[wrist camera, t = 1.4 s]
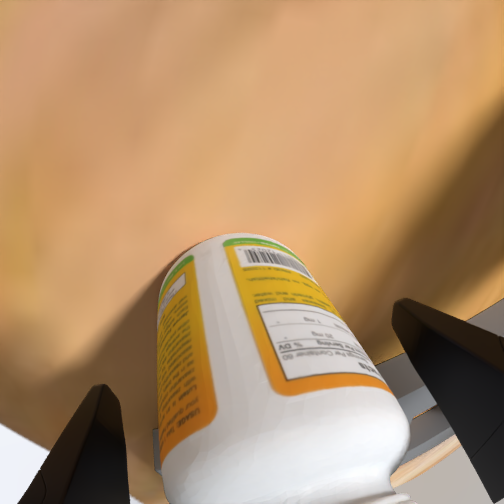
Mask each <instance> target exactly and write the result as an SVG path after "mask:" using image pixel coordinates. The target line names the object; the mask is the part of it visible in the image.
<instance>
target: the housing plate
mask: <svg viewBox="0 0 504 504" xmlns="http://www.w3.org/2000/svg"><path fill="white" fill-rule="evenodd" d="M466 322H468V323H470V324H473V325H475V326H478V327H480V328H482V329H485V330H487V331H490V332H492V333H494V334H497V335H498V336H502V337H504V299H502V300H501V301H499V302H498V303H496V304H494V305H493V306H491V307H489V308H488V309H486V310H485V311H483V312H481V313H480V314H478V315H476V316H474V317H473V318H471V319H469V320H467V321H466ZM375 368H376V369H377V371H378V372H379V373H380V375H381V376H382V378H383V379H384V380H385V382H386V384H387V385H388V387H389V389H390V390H391V391H392V393H393V394H394V396H395V397H396V399H397V401H398V403H399V405H400V406H401V408H402V410H403V412H404V413H405V415H406V417H407V420H408V423H409V426H410V436H411V437H410V444H409V448H408V451H407V453H406V456H405V458H404V460H403V461H402V463H401V464H400V466H401V465H402V464H404V463H406V462H408V461H410V460H412V459H414V458H416V457H417V456H419V455H421V454H423V453H425V452H426V451H428V450H430V449H431V448H433V447H435V446H437V445H438V444H440V443H441V442H443V441H445V440H446V439H448V438H449V437H451V436H453V435H454V434H455V433H454V431H453V429H452V428H451V426H450V424H449V423H448V421H447V419H446V418H445V416H444V415H443V413H442V411H441V410H440V408H439V406H436V407H435V408H433V409H431V410H429V411H427V412H426V413H424V414H422V415H420V416H418V417H417V418H415V419H413V417H415V416H417V415H418V414H420V413H422V412H424V411H426V410H428V409H429V408H431V407H433V406H435V405H436V404H437V403H436V402H435V400H434V398H433V397H432V395H431V394H430V392H429V390H428V389H427V387H426V386H425V384H424V383H423V381H422V379H421V378H420V376H419V375H418V373H417V372H416V370H415V369H414V367H413V365H412V364H411V362H410V360H409V358H408V356H407V354H406V352H405V353H403V354H401V355H399V356H397V357H395V358H392V359H390V360H388V361H386V362H383V363H381V364H379V365H376V366H375ZM412 419H413V420H412ZM153 448H154V466H155V471H156V472H157V473H159V474H160V475H161V476H162V472H161V462H160V449H159V430H158V429H154V430H153Z"/></svg>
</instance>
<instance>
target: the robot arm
mask: <svg viewBox="0 0 504 504" xmlns="http://www.w3.org/2000/svg"><path fill="white" fill-rule="evenodd" d="M392 326H393V329H394V331H395V333H396V335H397V336H398V338H399V340H400V342H401V344H402V346H403V348H404V350H405V352H406V354H407V356H408V358H409V360H410V362H411V364H412V365H413V367H414V369H415V370H416V372H417V373H418V375H419V376H420V378H421V379H422V381H423V383H424V384H425V386H426V387H427V389H428V390H429V392H430V394H431V395H432V397H433V398H434V400H435V402H436V403H437V405H438V406H439V408H440V410H441V411H442V413H443V415H444V416H445V418H446V419H447V421H448V423H449V424H450V426H451V428H452V429H453V431H454V433H455V435H456V436H457V438H458V440H459V441H460V443H461V445H462V447H463V448H464V450H465V452H466V454H467V455H468V457H469V459H470V461H471V463H472V465H473V467H474V468H475V470H476V472H477V474H478V476H479V477H480V479H481V481H482V483H483V485H484V487H485V489H486V491H487V493H488V495H489V496H490V498H491V500H492V502H493V503H494V504H495V503H496V502H498V501H500V500H501V499H503V498H504V337H502V336H498V335H497V334H494V333H492V332H490V331H487V330H485V329H482V328H480V327H478V326H475V325H473V324H470V323H468V322H465V321H463V320H460V319H458V318H456V317H453V316H451V315H448V314H446V313H443V312H441V311H438V310H436V309H433V308H431V307H428V306H426V305H423V304H421V303H418V302H416V301H413V300H411V299H408V298H403V299H400V300H398V301H396V302H395V303H394V306H393V313H392ZM40 469H41V470H39V471H38V473H37V474H36V476H35V478H34V479H33V481H32V483H31V484H30V486H29V488H28V489H27V490H26V492H25V493H24V495H23V496H22V498H21V499H20V501H19V502H18V503H17V504H130V496H129V485H128V472H127V454H126V444H125V437H124V430H123V423H122V415H121V407H120V402H119V400H118V398H117V397H116V396H115V394H114V393H113V392H112V391H111V389H110V388H109V387H108V386H107V385H106V384H98V385H94V386H93V387H92V388H91V389H90V391H89V392H88V394H87V395H86V397H85V398H84V400H83V401H82V403H81V404H80V406H79V407H78V409H77V410H76V412H75V413H74V415H73V417H72V418H71V420H70V421H69V423H68V424H67V426H66V427H65V429H64V431H63V432H62V434H61V435H60V437H59V438H58V440H57V442H56V443H55V445H54V446H53V448H52V450H51V451H50V453H49V455H48V456H47V458H46V460H45V461H44V463H43V465H42V466H41V468H40Z"/></svg>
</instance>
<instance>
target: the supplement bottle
mask: <svg viewBox="0 0 504 504" xmlns="http://www.w3.org/2000/svg"><path fill="white" fill-rule="evenodd" d="M157 402H158V430H159V449H160V462H161V472H162V479H163V485H164V491H165V495H166V498H167V500H168V502H169V503H170V504H417V503H416V502H415V501H412V500H411V497H410V495H409V494H408V493H398V494H396V493H395V491H394V489H393V487H392V486H391V483H390V476H391V475H392V474H393V473H394V472H395V471H396V470H397V468H398V467H399V466H400V464H401V463H402V461H403V460H404V458H405V456H406V453H407V451H408V448H409V444H410V437H411V436H410V426H409V423H408V420H407V417H406V415H405V413H404V412H403V410H402V408H401V406H400V405H399V403H398V401H397V399H396V397H395V396H394V394H393V393H392V391H391V390H390V389H389V387H388V385H387V384H386V382H385V380H384V379H383V378H382V376H381V375H380V373H379V372H378V371H377V369H376V368H375V366H374V365H373V363H372V362H371V360H370V358H369V357H368V355H367V354H366V352H365V351H364V350H363V348H362V347H361V345H360V344H359V342H358V341H357V339H356V338H355V336H354V335H353V333H352V332H351V330H350V329H349V328H348V326H347V325H346V323H345V322H344V320H343V319H342V317H341V316H340V314H339V313H338V312H337V310H336V309H335V307H334V306H333V304H332V303H331V301H330V300H329V299H328V297H327V296H326V294H325V293H324V292H323V290H322V289H321V287H320V286H319V284H318V283H317V282H316V280H315V279H314V277H313V276H312V275H311V273H310V272H309V270H308V269H307V268H306V266H305V265H304V264H303V263H302V261H301V260H300V259H299V258H298V257H297V256H296V255H295V254H294V253H293V252H292V251H291V250H290V249H289V248H288V247H286V246H285V245H283V244H281V243H280V242H278V241H276V240H274V239H271V238H269V237H266V236H262V235H258V234H251V233H231V234H225V235H220V236H217V237H213V238H211V239H208V240H206V241H203V242H201V243H199V244H198V245H196V246H194V247H193V248H191V249H190V250H188V251H187V252H186V253H184V254H183V255H182V256H181V257H180V258H179V259H178V260H177V261H176V262H175V264H174V265H173V266H172V267H171V269H170V270H169V272H168V273H167V275H166V277H165V279H164V281H163V283H162V286H161V289H160V293H159V300H158V314H157Z"/></svg>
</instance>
